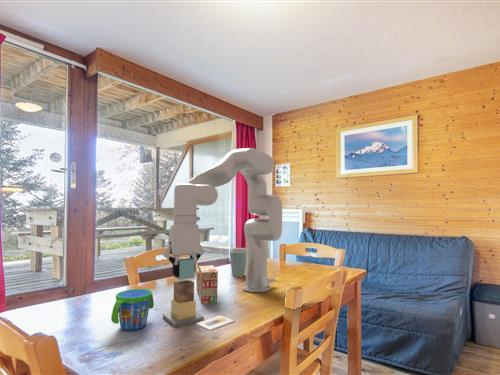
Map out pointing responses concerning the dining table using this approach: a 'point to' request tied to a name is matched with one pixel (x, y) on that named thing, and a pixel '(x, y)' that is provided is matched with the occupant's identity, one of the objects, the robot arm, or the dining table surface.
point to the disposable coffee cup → (238, 261)
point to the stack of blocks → (207, 284)
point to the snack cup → (132, 308)
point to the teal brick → (186, 268)
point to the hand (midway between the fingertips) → (184, 274)
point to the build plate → (184, 321)
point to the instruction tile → (214, 322)
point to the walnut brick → (183, 290)
